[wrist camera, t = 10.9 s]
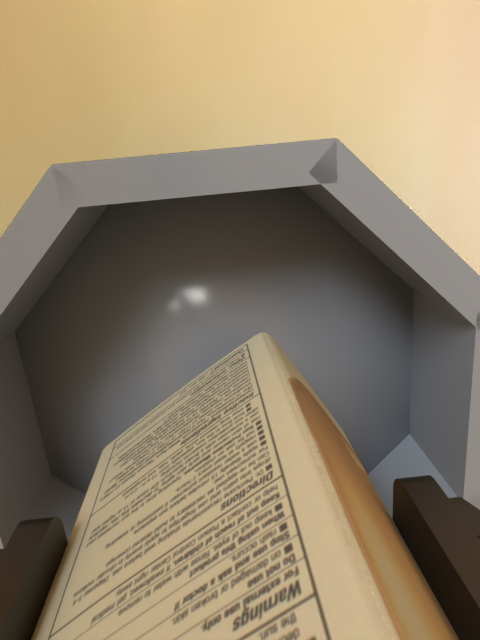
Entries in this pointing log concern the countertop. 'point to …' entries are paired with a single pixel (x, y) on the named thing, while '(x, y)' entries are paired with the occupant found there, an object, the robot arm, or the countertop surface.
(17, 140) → the countertop surface
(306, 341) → the ceramic bowl
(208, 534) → the skincare box
